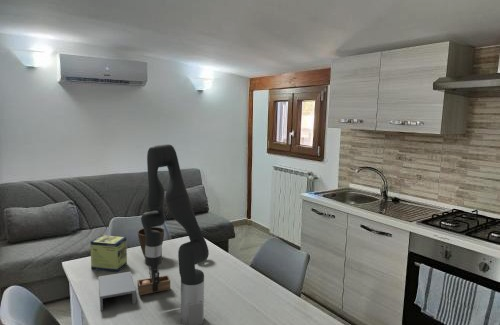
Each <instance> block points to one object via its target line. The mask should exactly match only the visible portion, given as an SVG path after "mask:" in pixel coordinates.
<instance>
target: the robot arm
mask: <svg viewBox="0 0 500 325" xmlns="http://www.w3.org/2000/svg"><path fill="white" fill-rule="evenodd" d="M146 165H147V166H146V167H147V180H148V189H147V190H148V191H147V199H146V206H147V208H148V209H149V210H151V211H146V212H144V213H142V215H141V217H140V218H141V219H140V221H141V224H142V227H143V228H144V232H145V237H146V247H145V257H144V260H145V263H144V264H145V265H146V266H147V267H148V274H149V278H151V279H152V284H153V293H156V292H155V291H158V284H159V277H160V268H159V266H160V265H161V264H162V262H163V247H162V246H163V243H162V244H161V232H160V231H156V230H151V227H160V226H163V225H164V224H165V222H166V215H165V210H164V209H165V208H164V202H165V201H166V202H165V203H166V204H167V209H168V211H169V213H170V215H171V216H172V218H173V219H174V220H175V221H176V222H177V223H178V224H179V225H180V226H181V227H182V228H183V229H184V230H185V232H186V234H187V235H188V238H189V241H187V242H184V243H182V244H181V245H180V246H179V248H178V252H177V253H178V255H177V256H178V257H177V258H178V272H179V277H180V322H181V324H182V325H203V324H204V320H205V317H204V316H205V273H204V272H203V270H201V269H198V268H196V265H198V264H200V263H203V262H205V261H206V260H207V259H208V258H209V255H210V254H209V247H208V244H207V241H206V239H205V236H204V234H203V233H202V229H201V227H200V225H199V224H198V220H197V218H196V215H195V211H194V209H193V205H192V202H191V200H190V197H189V194H188V191H187V188H186V185H185V182H184V179H183V175H182V171H181V167H180V163H179V158H178V155H177V152H176V149H175V147H174V146H173V145H171V144H158V145H152V146H150V147H149V148H148V150H147V155H146ZM165 167H167V170H168V175H169V180H168V184H167V188H166V192H165V188H164V186H163V184H162V182H161V180H160V179H159V176H158V172H159V168H165ZM143 228H142V229H143ZM155 280H157V281H155Z"/></svg>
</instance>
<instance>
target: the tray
mask: <svg viewBox="0 0 500 325" xmlns="http://www.w3.org/2000/svg"><path fill="white" fill-rule="evenodd" d="M145 280H149V281H150V283H149V284H143V285H142V282H143V281H145ZM155 281H157V280H155ZM169 290H171V279H170V277H169V275H162V276H159V284H158V291H155V292H153V284H152V279H151V278H150V277H148V278H144V279H137V291H138V292H137V293H138V295H139V296H142V295H148V294H153V293H158V292H162V291H163V292H164V291H169Z"/></svg>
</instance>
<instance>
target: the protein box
mask: <svg viewBox="0 0 500 325" xmlns="http://www.w3.org/2000/svg"><path fill="white" fill-rule="evenodd" d="M127 247H128V246H127V237H126V236H114V235H103V234H101V235H100V236H98V237H97V238H95V239H93V240H91V241H90V269H91V270H97V271H107V272H115V273H117V272H119V271H120V270H121V269H123V268H125V266H126V265H128V256H127V255H128V251H127V250H128V248H127Z"/></svg>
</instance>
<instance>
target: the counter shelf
mask: <svg viewBox="0 0 500 325" xmlns="http://www.w3.org/2000/svg"><path fill="white" fill-rule="evenodd" d="M135 285H136V284H135V281H134V278H133V275H132V271H125V272H119V273H113V274H106V275H101V276H98V293H99V294H98V295H99V296H98V297H99V309H100V312H103V311H104V304H103V302H104V300H103V299H107V298H113V297H118V296H124V295H129V294H131V298H132V299H131V300H132V302H131V303H132V305H134V304H137V288H136V286H135Z"/></svg>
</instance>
